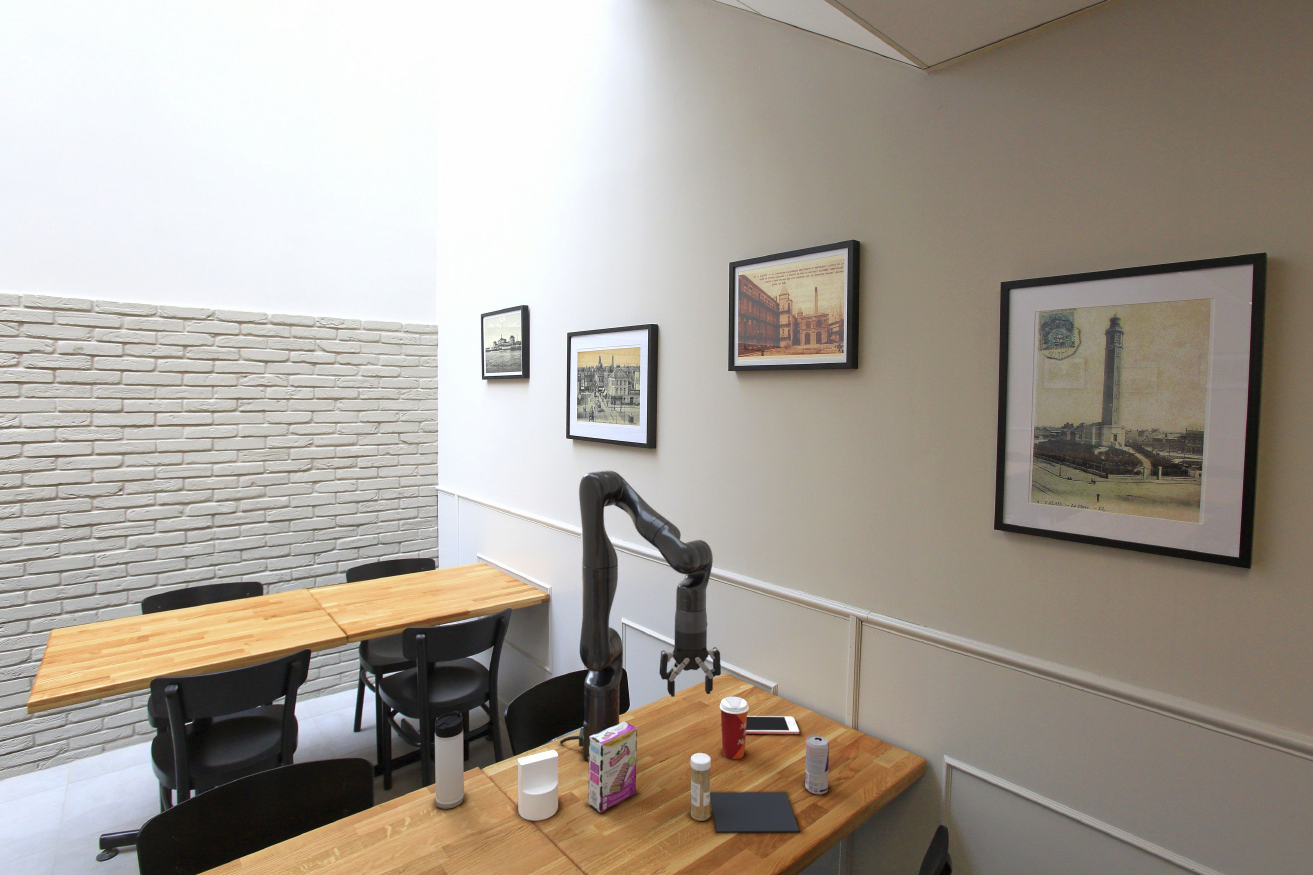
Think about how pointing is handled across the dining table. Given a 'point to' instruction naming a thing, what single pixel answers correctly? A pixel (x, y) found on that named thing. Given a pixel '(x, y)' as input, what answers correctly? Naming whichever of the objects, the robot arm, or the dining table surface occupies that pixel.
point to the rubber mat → (752, 812)
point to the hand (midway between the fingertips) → (689, 693)
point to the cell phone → (771, 725)
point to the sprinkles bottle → (700, 786)
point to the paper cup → (733, 726)
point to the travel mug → (449, 760)
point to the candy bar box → (612, 766)
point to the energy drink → (817, 764)
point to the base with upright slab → (538, 785)
